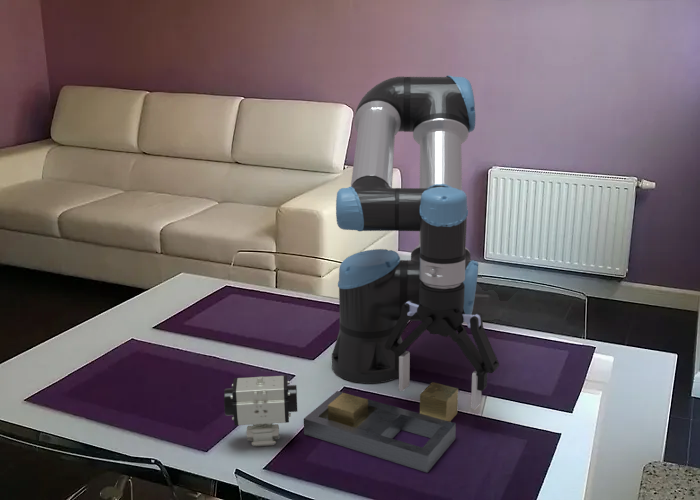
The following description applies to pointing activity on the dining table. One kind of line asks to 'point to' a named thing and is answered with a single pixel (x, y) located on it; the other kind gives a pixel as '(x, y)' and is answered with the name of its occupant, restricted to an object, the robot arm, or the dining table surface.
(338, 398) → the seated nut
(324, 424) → the tray
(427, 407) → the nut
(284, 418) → the pneumatic valve
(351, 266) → the robot arm
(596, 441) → the dining table surface
